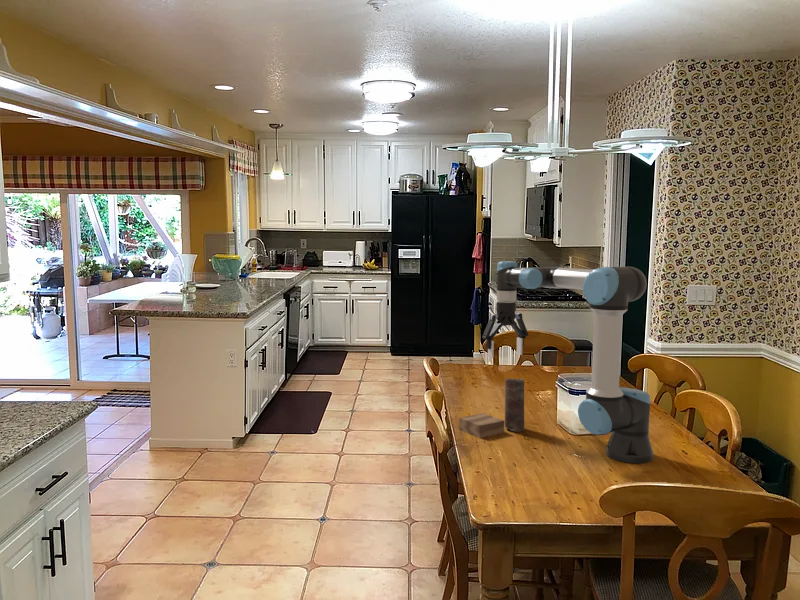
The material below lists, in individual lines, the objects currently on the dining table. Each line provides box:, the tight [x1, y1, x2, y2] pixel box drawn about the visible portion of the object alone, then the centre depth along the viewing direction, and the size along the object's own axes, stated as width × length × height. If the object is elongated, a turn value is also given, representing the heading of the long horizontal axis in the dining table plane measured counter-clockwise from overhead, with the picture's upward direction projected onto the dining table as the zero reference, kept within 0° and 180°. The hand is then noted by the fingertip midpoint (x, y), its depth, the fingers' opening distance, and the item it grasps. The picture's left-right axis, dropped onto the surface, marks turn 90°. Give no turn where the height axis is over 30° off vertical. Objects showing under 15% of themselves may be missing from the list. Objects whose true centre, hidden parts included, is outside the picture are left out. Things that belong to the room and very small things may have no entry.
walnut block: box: [458, 412, 505, 439], centre depth 247 cm, size 12×12×5 cm
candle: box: [504, 377, 525, 433], centre depth 248 cm, size 8×7×20 cm
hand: (505, 355), depth 252 cm, fingers open, 13 cm apart
